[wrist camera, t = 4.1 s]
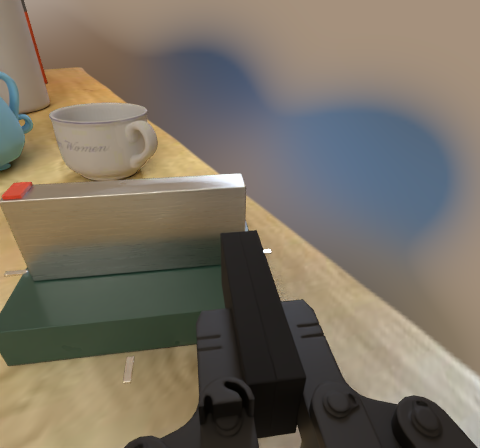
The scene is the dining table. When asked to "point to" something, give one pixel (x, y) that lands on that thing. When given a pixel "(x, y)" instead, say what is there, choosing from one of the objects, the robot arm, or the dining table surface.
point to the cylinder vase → (20, 59)
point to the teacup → (104, 139)
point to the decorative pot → (11, 125)
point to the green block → (106, 313)
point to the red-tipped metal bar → (123, 224)
